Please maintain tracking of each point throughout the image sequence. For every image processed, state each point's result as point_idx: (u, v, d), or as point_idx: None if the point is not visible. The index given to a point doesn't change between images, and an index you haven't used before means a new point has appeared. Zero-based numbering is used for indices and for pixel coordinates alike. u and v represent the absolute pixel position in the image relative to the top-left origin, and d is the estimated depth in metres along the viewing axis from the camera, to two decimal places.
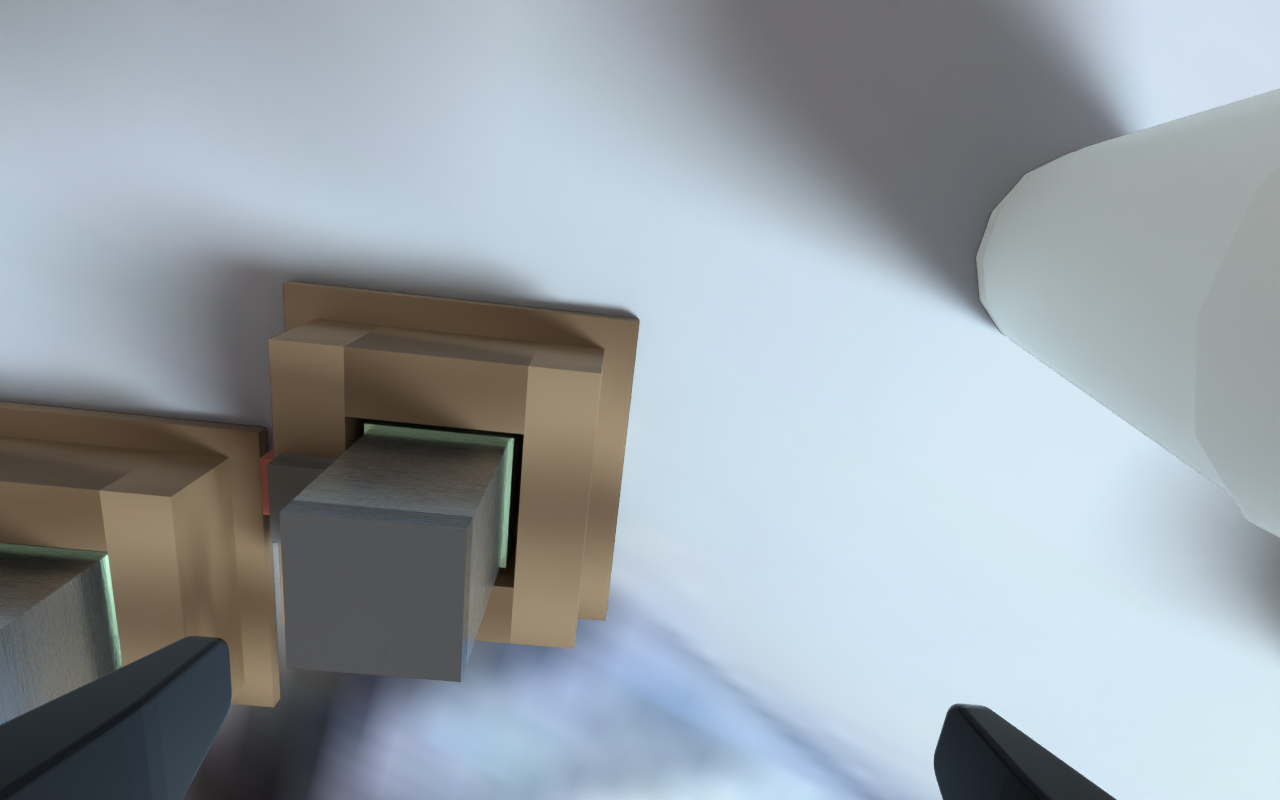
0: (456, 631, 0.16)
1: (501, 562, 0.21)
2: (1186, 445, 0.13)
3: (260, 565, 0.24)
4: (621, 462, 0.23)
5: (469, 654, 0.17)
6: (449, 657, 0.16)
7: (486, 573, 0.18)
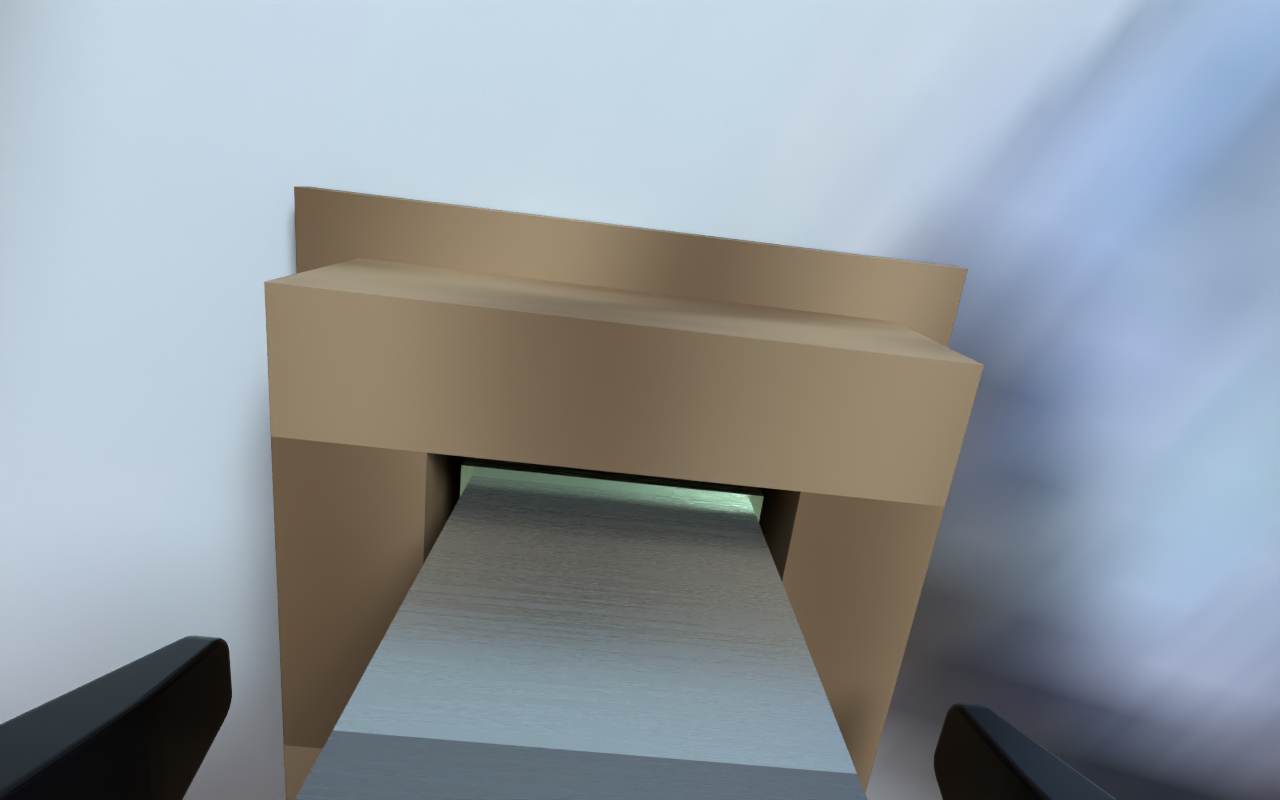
0: None
1: (748, 504, 0.10)
2: None
3: None
4: (596, 228, 0.11)
5: (838, 741, 0.06)
6: None
7: (681, 599, 0.07)
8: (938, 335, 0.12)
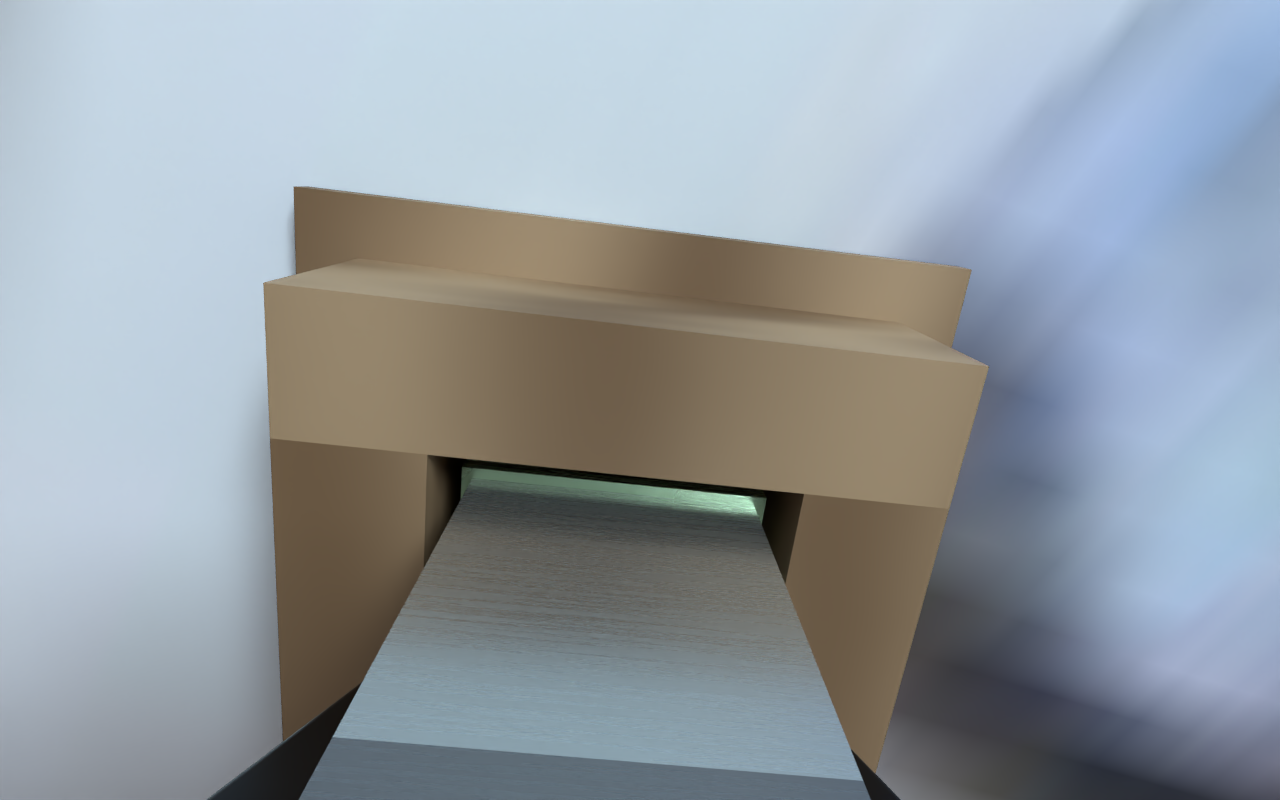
0: None
1: (751, 506, 0.10)
2: None
3: None
4: (598, 228, 0.11)
5: (844, 746, 0.06)
6: None
7: (684, 602, 0.07)
8: (942, 336, 0.12)
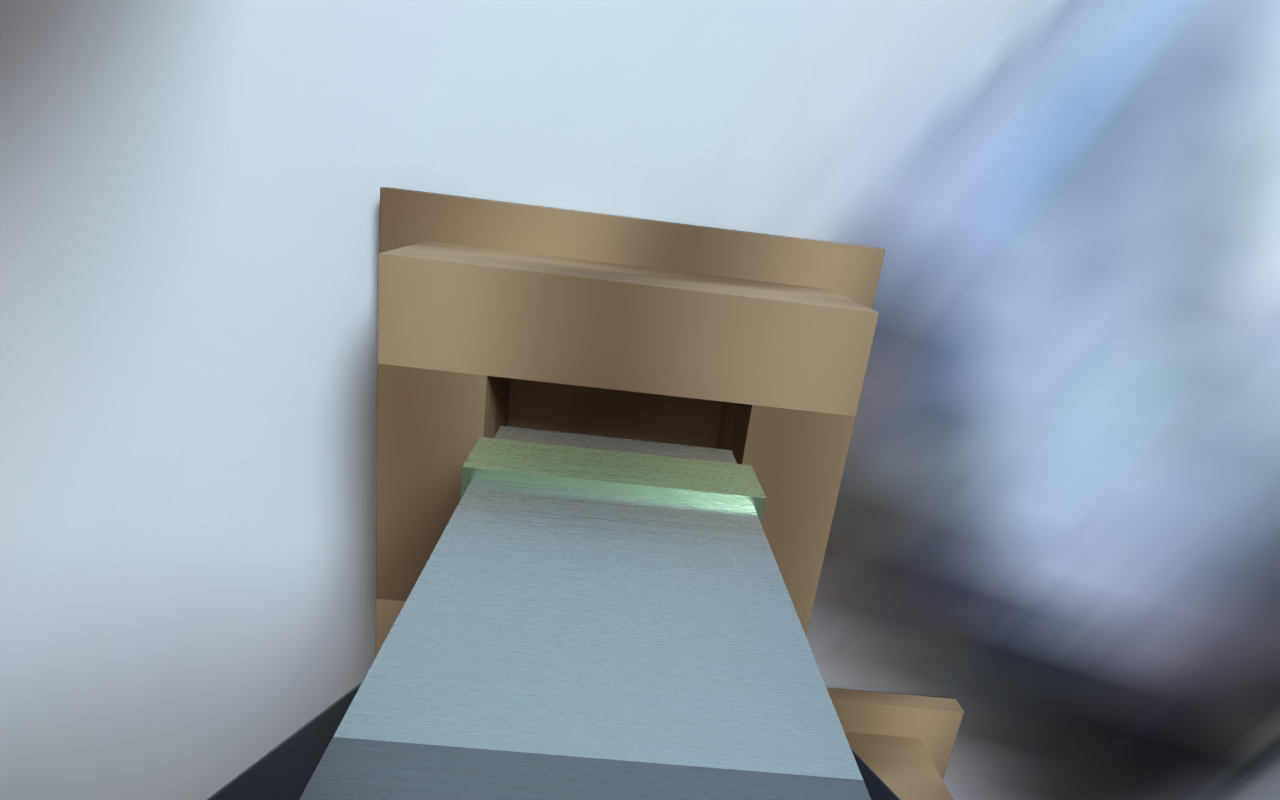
0: None
1: (751, 506, 0.10)
2: None
3: None
4: (605, 218, 0.15)
5: (844, 746, 0.06)
6: None
7: (684, 602, 0.07)
8: (864, 300, 0.15)
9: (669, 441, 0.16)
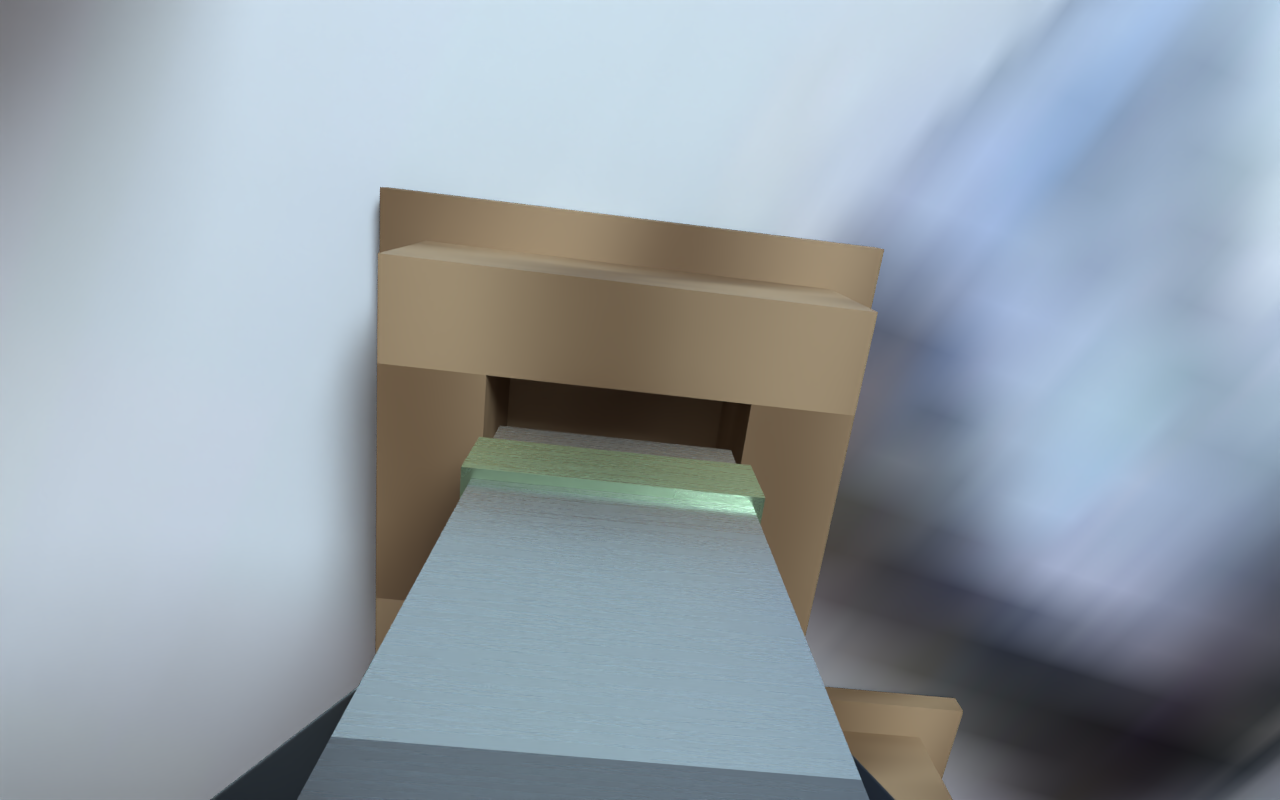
0: None
1: (750, 506, 0.10)
2: None
3: None
4: (604, 218, 0.15)
5: (842, 745, 0.06)
6: None
7: (683, 602, 0.07)
8: (863, 299, 0.15)
9: (668, 440, 0.16)
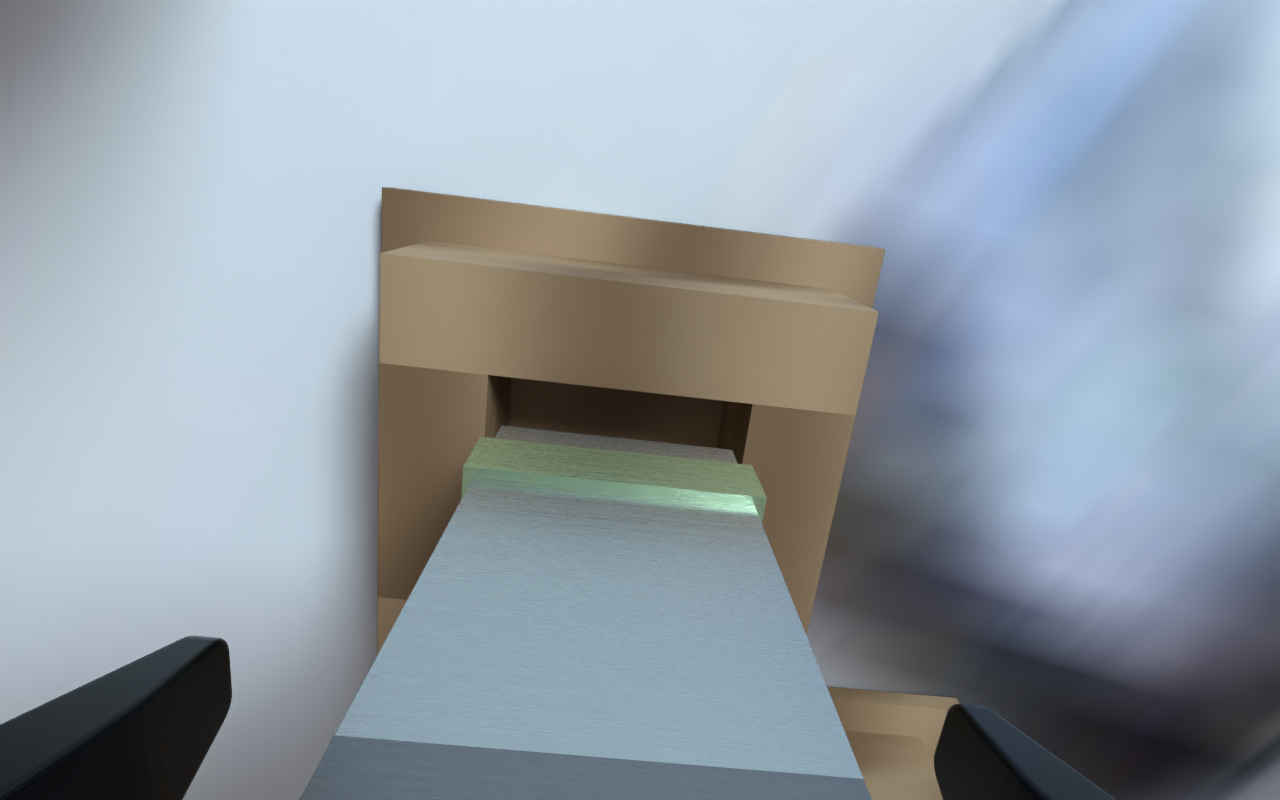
0: None
1: (751, 506, 0.10)
2: None
3: None
4: (606, 218, 0.15)
5: (844, 745, 0.06)
6: None
7: (685, 601, 0.07)
8: (864, 299, 0.15)
9: (670, 440, 0.16)
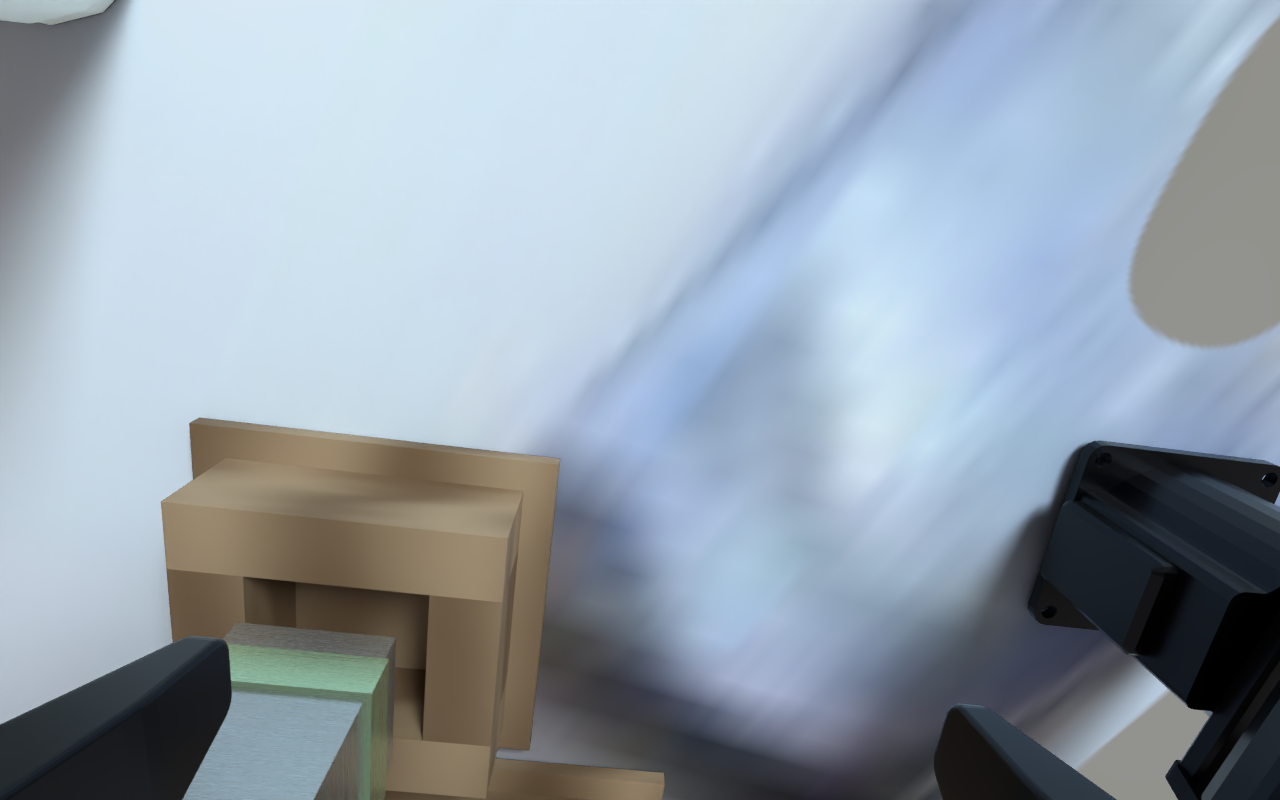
0: None
1: (361, 699, 0.15)
2: None
3: (497, 773, 0.24)
4: (353, 443, 0.20)
5: None
6: None
7: (251, 788, 0.13)
8: (548, 498, 0.21)
9: None
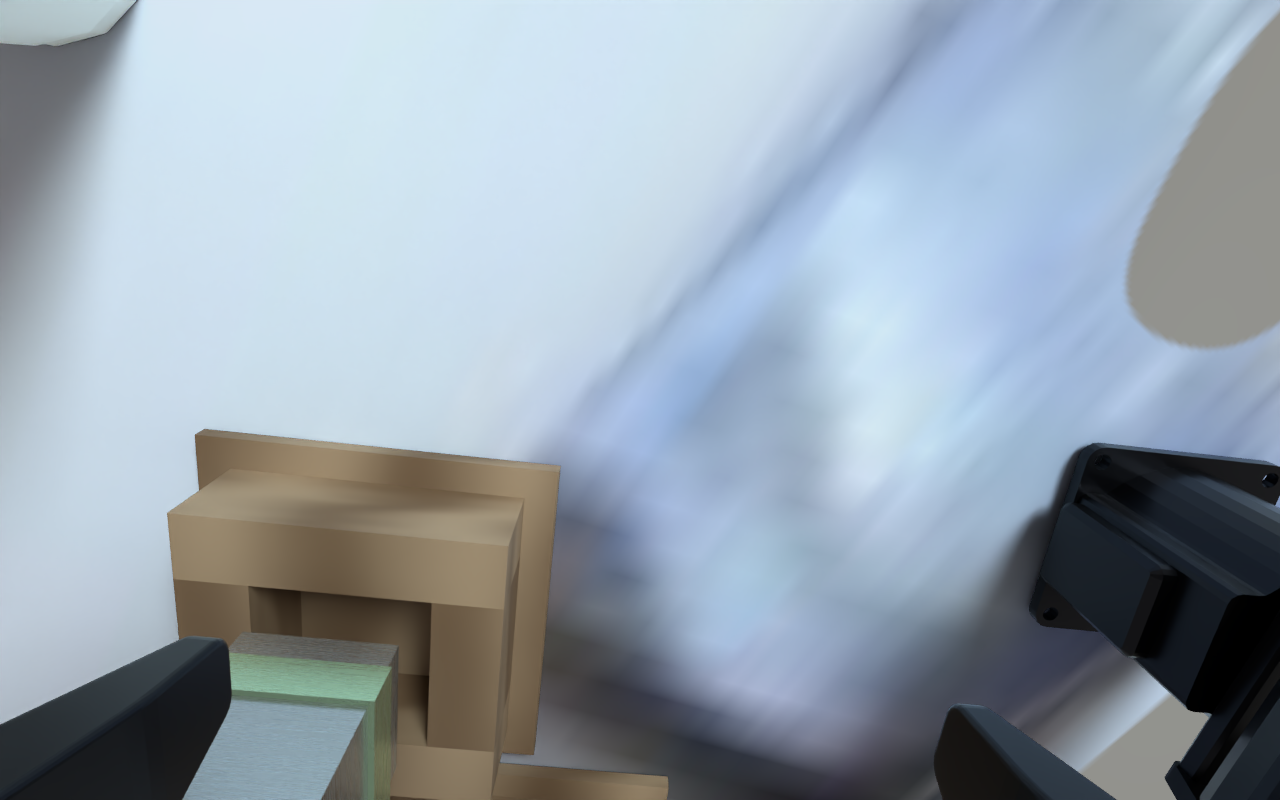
0: None
1: (364, 706, 0.16)
2: None
3: (502, 778, 0.25)
4: (356, 453, 0.21)
5: None
6: None
7: (256, 796, 0.13)
8: (548, 505, 0.21)
9: None
